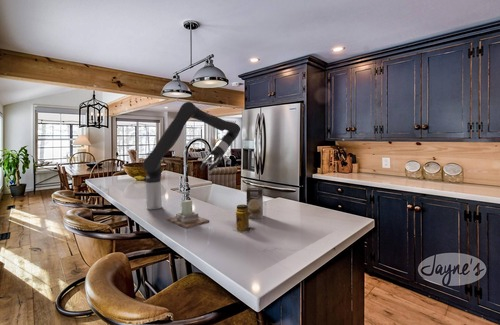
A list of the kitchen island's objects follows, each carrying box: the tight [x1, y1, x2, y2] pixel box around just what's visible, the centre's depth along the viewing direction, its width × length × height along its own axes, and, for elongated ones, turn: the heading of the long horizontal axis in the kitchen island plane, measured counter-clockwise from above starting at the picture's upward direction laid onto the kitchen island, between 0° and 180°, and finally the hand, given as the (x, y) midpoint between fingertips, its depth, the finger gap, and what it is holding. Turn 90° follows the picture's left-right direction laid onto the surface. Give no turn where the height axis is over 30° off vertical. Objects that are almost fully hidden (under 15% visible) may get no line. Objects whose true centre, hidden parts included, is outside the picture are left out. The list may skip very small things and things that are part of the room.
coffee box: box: [246, 187, 264, 219], centre depth 147 cm, size 9×6×16 cm
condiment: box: [233, 204, 255, 234], centre depth 127 cm, size 7×8×12 cm
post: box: [181, 199, 193, 216], centre depth 141 cm, size 4×4×10 cm
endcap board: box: [166, 211, 210, 229], centre depth 142 cm, size 20×14×4 cm
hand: (205, 169), depth 155 cm, fingers open, 8 cm apart
